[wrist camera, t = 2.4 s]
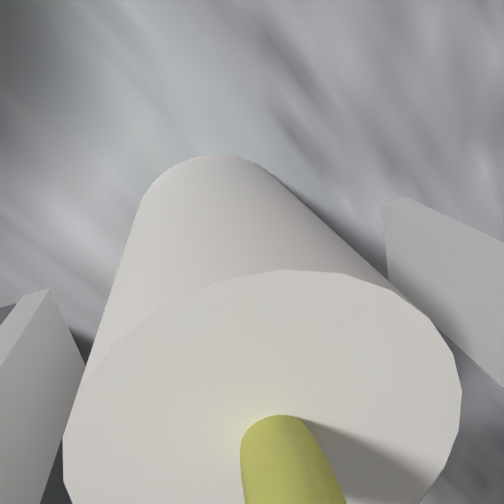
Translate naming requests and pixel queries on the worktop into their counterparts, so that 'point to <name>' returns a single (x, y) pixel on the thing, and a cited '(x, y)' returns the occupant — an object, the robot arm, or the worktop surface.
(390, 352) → the candle
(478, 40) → the worktop surface
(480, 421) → the worktop surface
